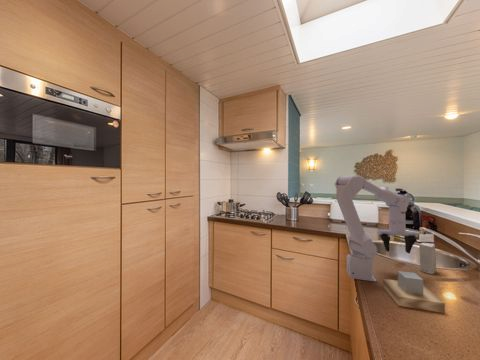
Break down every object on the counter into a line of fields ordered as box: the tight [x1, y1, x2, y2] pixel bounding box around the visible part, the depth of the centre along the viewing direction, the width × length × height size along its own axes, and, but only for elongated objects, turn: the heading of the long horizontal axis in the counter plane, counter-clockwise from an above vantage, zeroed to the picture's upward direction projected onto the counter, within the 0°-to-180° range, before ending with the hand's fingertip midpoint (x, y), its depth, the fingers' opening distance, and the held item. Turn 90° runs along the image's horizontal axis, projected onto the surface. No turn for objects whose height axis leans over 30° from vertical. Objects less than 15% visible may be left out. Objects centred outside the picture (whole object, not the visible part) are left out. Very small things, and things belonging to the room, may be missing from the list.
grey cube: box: [397, 270, 424, 295], centre depth 67 cm, size 5×5×5 cm
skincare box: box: [419, 242, 437, 275], centre depth 87 cm, size 6×4×12 cm
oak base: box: [382, 278, 446, 314], centre depth 67 cm, size 12×12×3 cm
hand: (397, 251), depth 85 cm, fingers open, 7 cm apart
